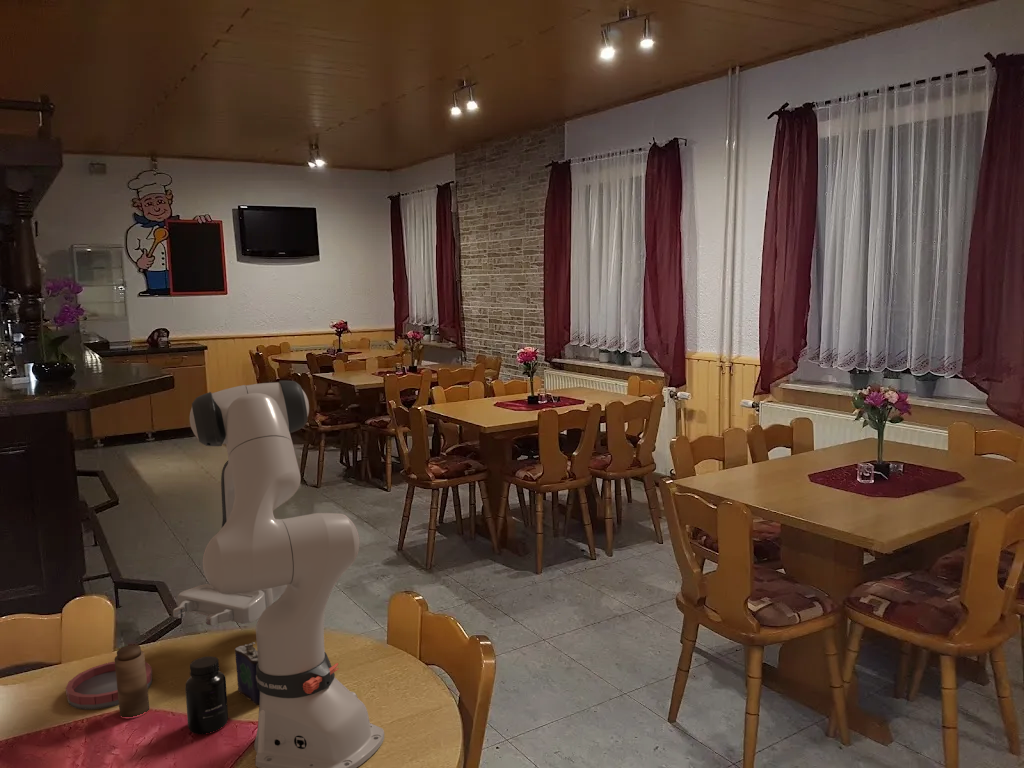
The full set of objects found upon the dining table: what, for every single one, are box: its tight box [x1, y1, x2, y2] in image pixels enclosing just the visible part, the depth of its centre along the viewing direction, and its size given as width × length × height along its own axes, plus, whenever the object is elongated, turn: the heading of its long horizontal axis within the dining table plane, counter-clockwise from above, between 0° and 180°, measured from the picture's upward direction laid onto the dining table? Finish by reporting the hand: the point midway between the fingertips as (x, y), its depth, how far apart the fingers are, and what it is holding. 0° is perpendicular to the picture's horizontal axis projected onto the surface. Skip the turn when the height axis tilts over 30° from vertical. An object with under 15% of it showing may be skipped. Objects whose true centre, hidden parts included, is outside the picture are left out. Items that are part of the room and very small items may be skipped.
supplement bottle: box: [184, 656, 229, 735], centre depth 140 cm, size 7×7×12 cm
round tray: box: [65, 661, 153, 711], centre depth 155 cm, size 15×15×2 cm
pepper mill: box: [113, 644, 150, 717], centre depth 146 cm, size 5×5×12 cm
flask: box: [234, 641, 260, 707], centre depth 150 cm, size 9×3×11 cm, turn 45°
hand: (191, 618), depth 158 cm, fingers open, 8 cm apart
